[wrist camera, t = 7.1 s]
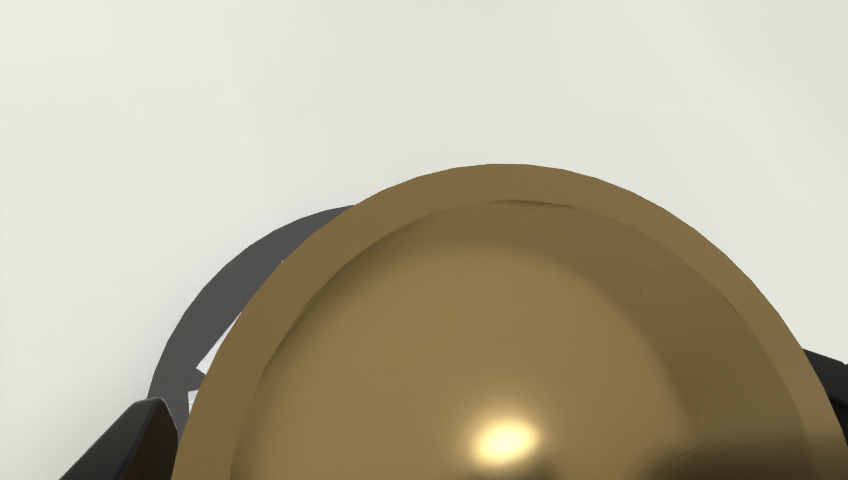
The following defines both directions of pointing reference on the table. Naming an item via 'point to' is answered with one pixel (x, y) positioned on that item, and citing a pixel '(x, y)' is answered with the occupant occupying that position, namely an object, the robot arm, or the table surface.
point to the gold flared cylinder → (510, 348)
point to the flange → (222, 314)
